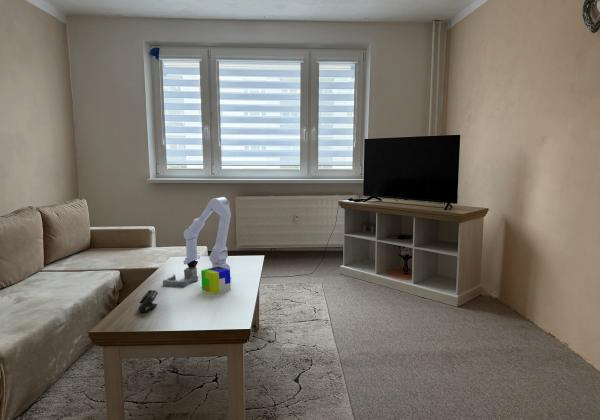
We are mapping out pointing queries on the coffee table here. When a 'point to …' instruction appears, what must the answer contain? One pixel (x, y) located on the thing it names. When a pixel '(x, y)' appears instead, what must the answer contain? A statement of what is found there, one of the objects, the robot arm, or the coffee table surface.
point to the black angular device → (148, 301)
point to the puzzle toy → (215, 280)
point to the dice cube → (190, 272)
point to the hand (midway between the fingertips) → (192, 274)
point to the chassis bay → (173, 282)
